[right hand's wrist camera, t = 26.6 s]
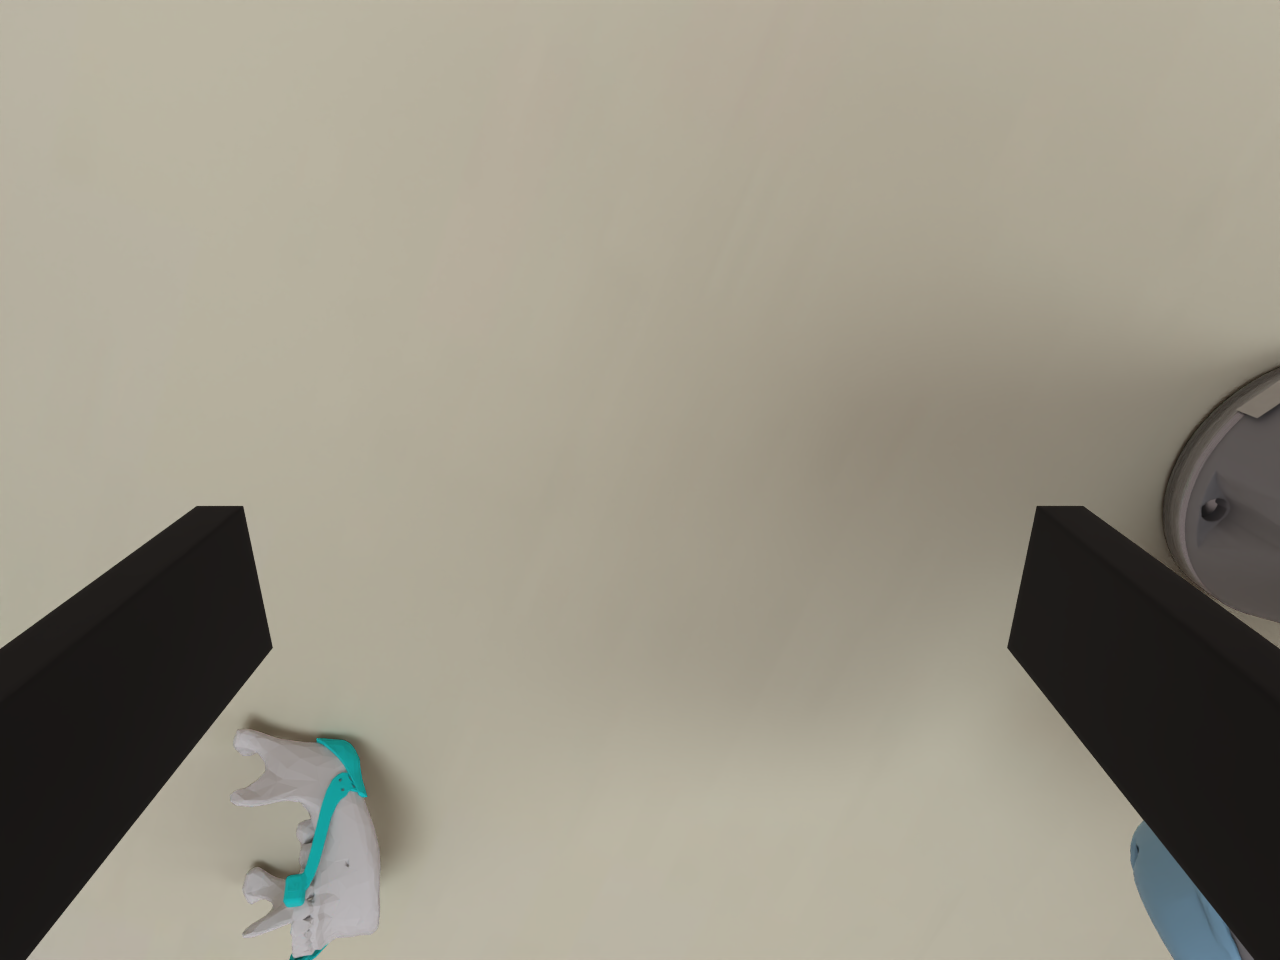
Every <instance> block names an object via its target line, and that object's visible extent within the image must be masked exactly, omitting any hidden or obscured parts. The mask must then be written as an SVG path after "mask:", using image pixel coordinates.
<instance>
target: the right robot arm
mask: <svg viewBox="0 0 1280 960" xmlns="http://www.w3.org/2000/svg"><path fill="white" fill-rule="evenodd" d="M1163 525H1164V532H1165V538H1166V541H1167V544H1168V548H1169V550H1170V552H1171V554H1172V556H1173V559H1174V560H1175V562H1176V563H1177V565H1178V566H1179V568H1180V569H1181V570H1182V571H1183V572H1184V574H1185V575H1186V576H1187V577H1188V578H1190V579H1191V580H1192V581H1193V582H1194V583H1195V584H1197V585H1198V586H1200V587H1201V588H1202V589H1204V590H1205V591H1207V592H1208V593H1209V594H1211V595H1212V596H1214V597H1215V598H1216V599H1218V600H1219V601H1221V602H1222V603H1224V604H1225V605H1227V606H1229V607H1231V608H1233V609H1235V610H1238V611H1241V612H1243V613H1246V614H1250V615H1254V616H1257V617H1261V618H1264V619H1268V620H1271V621H1275V622H1278V623H1280V367H1279V368H1277V369H1275V370H1272V371H1270V372H1268V373H1266V374H1264V375H1262V376H1261V377H1259V378H1257V379H1255V380H1253V381H1252V382H1250V383H1249V384H1247V385H1246V386H1244V387H1243V388H1241V389H1240V390H1238V391H1237V392H1236V393H1234V394H1233V395H1232V396H1230V397H1229V398H1228V399H1226V400H1225V401H1224V402H1223V403H1222V404H1221V405H1220V406H1219V407H1217V408H1216V409H1215V410H1214V411H1213V412H1212V413H1211V414H1210V415H1209V416H1208V417H1207V418H1206V419H1205V421H1204V422H1203V423H1202V424H1201V425H1200V427H1199V428H1198V429H1197V430H1196V431H1195V433H1194V434H1193V435H1192V437H1191V438H1190V440H1189V441H1188V443H1187V444H1186V446H1185V447H1184V449H1183V451H1182V452H1181V454H1180V456H1179V458H1178V460H1177V462H1176V464H1175V466H1174V468H1173V471H1172V473H1171V476H1170V479H1169V482H1168V486H1167V489H1166V493H1165V499H1164V506H1163ZM272 648H273V647H272V642H271V637H270V633H269V628H268V623H267V618H266V613H265V609H264V604H263V599H262V594H261V589H260V585H259V580H258V575H257V570H256V565H255V561H254V556H253V551H252V546H251V541H250V537H249V532H248V527H247V522H246V517H245V513H244V508H243V506H196V507H195V508H193V509H192V510H191V511H189V512H188V513H187V514H185V515H184V516H182V517H181V518H180V519H178V520H177V521H176V522H174V523H173V524H171V525H170V526H169V527H167V528H166V529H165V530H163V531H162V532H160V533H159V534H158V535H156V536H155V537H154V538H152V539H151V540H149V541H148V542H147V543H145V544H144V545H143V546H141V547H140V548H138V549H137V550H136V551H134V552H133V553H132V554H130V555H129V556H127V557H126V558H125V559H123V560H122V561H121V562H119V563H118V564H116V565H115V566H114V567H112V568H111V569H110V570H108V571H107V572H105V573H104V574H103V575H101V576H100V577H99V578H97V579H96V580H94V581H93V582H92V583H90V584H89V585H88V586H86V587H85V588H83V589H82V590H81V591H79V592H78V593H77V594H75V595H74V596H72V597H71V598H70V599H68V600H67V601H66V602H64V603H63V604H61V605H60V606H59V607H57V608H56V609H55V610H53V611H52V612H50V613H49V614H48V615H46V616H45V617H44V618H42V619H41V620H39V621H38V622H37V623H35V624H34V625H33V626H31V627H30V628H28V629H27V630H26V631H24V632H23V633H22V634H20V635H19V636H17V637H16V638H15V639H13V640H12V641H11V642H9V643H8V644H6V645H5V646H4V647H2V648H1V649H0V960H26V959H27V958H28V956H29V955H30V954H31V953H32V951H33V950H34V949H35V947H36V946H37V945H38V944H39V942H40V941H41V940H42V939H43V937H44V936H45V935H46V934H47V932H48V931H49V930H50V929H51V927H52V926H53V925H54V923H55V922H56V921H57V920H58V918H59V917H60V916H61V915H62V913H63V912H64V911H65V910H66V908H67V907H68V906H69V905H70V903H71V902H72V901H73V899H74V898H75V897H76V896H77V894H78V893H79V892H80V891H81V889H82V888H83V887H84V886H85V884H86V883H87V882H88V881H89V879H90V878H91V877H92V875H93V874H94V873H95V872H96V870H97V869H98V868H99V867H100V865H101V864H102V863H103V862H104V860H105V859H106V858H107V857H108V855H109V854H110V853H111V851H112V850H113V849H114V848H115V846H116V845H117V844H118V843H119V841H120V840H121V839H122V838H123V836H124V835H125V834H126V833H127V831H128V830H129V829H130V827H131V826H132V825H133V824H134V822H135V821H136V820H137V819H138V817H139V816H140V815H141V814H142V812H143V811H144V810H145V809H146V807H147V806H148V805H149V803H150V802H151V801H152V800H153V798H154V797H155V796H156V795H157V793H158V792H159V791H160V790H161V788H162V787H163V786H164V784H165V783H166V782H167V781H168V779H169V778H170V777H171V776H172V774H173V773H174V772H175V771H176V769H177V768H178V767H179V766H180V764H181V763H182V762H183V760H184V759H185V758H186V757H187V755H188V754H189V753H190V752H191V750H192V749H193V748H194V747H195V745H196V744H197V743H198V742H199V740H200V739H201V738H202V736H203V735H204V734H205V733H206V731H207V730H208V729H209V728H210V726H211V725H212V724H213V723H214V721H215V720H216V719H217V718H218V716H219V715H220V714H221V712H222V711H223V710H224V709H225V707H226V706H227V705H228V704H229V702H230V701H231V700H232V699H233V697H234V696H235V695H236V694H237V692H238V691H239V690H240V688H241V687H242V686H243V685H244V683H245V682H246V681H247V680H248V678H249V677H250V676H251V675H252V673H253V672H254V671H255V670H256V668H257V667H258V666H259V664H260V663H261V662H262V661H263V659H264V658H265V657H266V656H267V654H268V653H269V652H270V651H271V649H272ZM1007 648H1008V649H1009V651H1010V652H1011V653H1012V654H1013V656H1014V657H1015V658H1016V659H1017V661H1018V662H1019V663H1020V664H1021V666H1022V667H1023V668H1024V670H1025V671H1026V672H1027V673H1028V675H1029V676H1030V677H1031V678H1032V680H1033V681H1034V682H1035V683H1036V685H1037V686H1038V687H1039V688H1040V690H1041V691H1042V692H1043V694H1044V695H1045V696H1046V697H1047V699H1048V700H1049V701H1050V702H1051V704H1052V705H1053V706H1054V707H1055V709H1056V710H1057V711H1058V712H1059V714H1060V715H1061V716H1062V718H1063V719H1064V720H1065V721H1066V723H1067V724H1068V725H1069V726H1070V728H1071V729H1072V730H1073V731H1074V733H1075V734H1076V735H1077V736H1078V738H1079V739H1080V740H1081V742H1082V743H1083V744H1084V745H1085V747H1086V748H1087V749H1088V750H1089V752H1090V753H1091V754H1092V755H1093V757H1094V758H1095V759H1096V760H1097V762H1098V763H1099V764H1100V766H1101V767H1102V768H1103V769H1104V771H1105V772H1106V773H1107V774H1108V776H1109V777H1110V778H1111V779H1112V781H1113V782H1114V783H1115V784H1116V786H1117V787H1118V788H1119V790H1120V791H1121V792H1122V793H1123V795H1124V796H1125V797H1126V798H1127V800H1128V801H1129V802H1130V803H1131V805H1132V806H1133V807H1134V809H1135V810H1136V811H1137V812H1138V814H1139V815H1140V816H1141V817H1142V819H1143V822H1142V823H1141V824H1140V825H1139V826H1138V827H1137V829H1136V831H1135V833H1134V835H1133V838H1132V842H1131V848H1130V852H1131V865H1132V868H1133V874H1134V880H1135V883H1136V886H1137V889H1138V892H1139V894H1140V897H1141V899H1142V902H1143V904H1144V906H1145V908H1146V911H1147V913H1148V915H1149V917H1150V919H1151V921H1152V923H1153V924H1154V926H1155V928H1156V930H1157V932H1158V934H1159V935H1160V937H1161V939H1162V941H1163V942H1164V944H1165V946H1166V947H1167V949H1168V951H1169V952H1170V954H1171V956H1172V957H1173V959H1174V960H1280V649H1279V648H1278V647H1276V646H1275V645H1273V644H1272V643H1271V642H1269V641H1268V640H1267V639H1265V638H1264V637H1263V636H1261V635H1260V634H1258V633H1257V632H1256V631H1254V630H1253V629H1252V628H1250V627H1249V626H1247V625H1246V624H1245V623H1243V622H1242V621H1241V620H1239V619H1238V618H1236V617H1235V616H1234V615H1232V614H1231V613H1230V612H1228V611H1227V610H1225V609H1224V608H1223V607H1221V606H1220V605H1219V604H1217V603H1216V602H1214V601H1213V600H1212V599H1210V598H1209V597H1208V596H1206V595H1205V594H1203V593H1202V592H1201V591H1199V590H1198V589H1197V588H1195V587H1194V586H1192V585H1191V584H1190V583H1188V582H1187V581H1186V580H1184V579H1183V578H1181V577H1180V576H1179V575H1177V574H1176V573H1175V572H1173V571H1172V570H1170V569H1169V568H1168V567H1166V566H1165V565H1164V564H1162V563H1161V562H1159V561H1158V560H1157V559H1155V558H1154V557H1153V556H1151V555H1150V554H1148V553H1147V552H1146V551H1144V550H1143V549H1142V548H1140V547H1139V546H1137V545H1136V544H1135V543H1133V542H1132V541H1131V540H1129V539H1128V538H1126V537H1125V536H1124V535H1122V534H1121V533H1120V532H1118V531H1117V530H1115V529H1114V528H1113V527H1111V526H1110V525H1109V524H1107V523H1106V522H1104V521H1103V520H1102V519H1100V518H1099V517H1098V516H1096V515H1095V514H1093V513H1092V512H1091V511H1089V510H1088V509H1087V508H1085V507H1084V506H1037V508H1036V513H1035V517H1034V522H1033V527H1032V532H1031V537H1030V541H1029V546H1028V551H1027V556H1026V561H1025V565H1024V570H1023V575H1022V580H1021V585H1020V589H1019V594H1018V599H1017V604H1016V609H1015V613H1014V618H1013V623H1012V628H1011V633H1010V637H1009V642H1008V647H1007Z"/></svg>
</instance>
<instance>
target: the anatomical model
mask: <svg viewBox="0 0 1280 960" xmlns="http://www.w3.org/2000/svg"><path fill="white" fill-rule="evenodd" d="M316 739H317V742H301V741H294V740H286V739H280V738H276V737H273V736H270V735H267V734H265V733H262V732H259V731H255V730H252V729H238V730H237V732H236V734H235V737H234V742H233V746H234V748H235V749H236V750H237V751H238V752H239V753H240V754H241V755H243V756H250V755H253V754H255V753H258V754H259V755H260V757H261V758H262V759H263V761H264V763H265V769H266V770H265V772H264V773H263V774H262V775H261V776H260V777H259V778H258V779H257V780H256V781H255V782H253V783H252V784H250V785H249V786H248V787H246V788H243V789H239V790H236V791H234V792H233V793H232V794H231V795H230V801H231V802H232V803H233V804H235V805H237V806H247V807H254V806H261V805H267V804H271V803H275V802H279V801H295V802H300V803H301V804H302V805H303V807H304V808H305V809H306V810H307V811H308V812H309V815H310V817H311V819H309V820H305V821H303V822H300V823H299V824H298V827H297V831H296V834H297V837H298V840H299V841H300V842H301V851H300V856H299V863H300V865H301V869H300V872H299V874H296V875H290V876H288V877H287V878H286V879H281V878H278V877H275V876H273V875H271V874H269V873H268V872H266V871H265V870H263V869H262V868H260V867H254V868H252V869H251V870H250V871H249V872H248V873H247V874H246V877H245V880H244V884H243V888H242V890H243V894H244V896H245V898H246V899H247V901H248V903H250V904H253V903H255V902H257V901H259V900H261V899H266V900H268V901H270V902H272V904H273V907H272V910H271V911H270V912H269V913H268V914H267V915H266V916H264V917H263V918H261V919H260V920H258V921H256V922H255V923H253V924H252V925H250V926H249V927H248V928H247V929H245V931H244V932H243V934H242V935H243V938H249V937H256V936H258V935H261V934H264V933H266V932H269V931H272V930H274V929H277V928H280V927H282V926H285V925H287V924H290V923H291V936H292V954H291V956H290V959H289V960H312V959H314V958H315V957H316V956H317V955H318V954H319V953H320V952H321V951H322V950H323V949H324V948H325V947H326V946H327V945H328V943H330V942H331V941H332V940H334V939H335V938H341V937H354V936H358V935H371V934H372V933H374V932H375V931H376V930H377V929H378V925H379V914H380V895H379V891H380V870H381V864H380V849H379V845H378V840H377V836H376V831H375V827H374V824H373V822H372V819H371V816H370V813H369V810H368V808H367V805H366V802H365V799H364V797H367V793H366V790H365V787H364V783H363V780H362V774H361V768H360V759H359V757H358V754H357V752H356V750H355V749H354V747H353V746H352V745H351V744H350V743H349V742H347V741H345V740H337V739H326V738H316Z"/></svg>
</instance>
